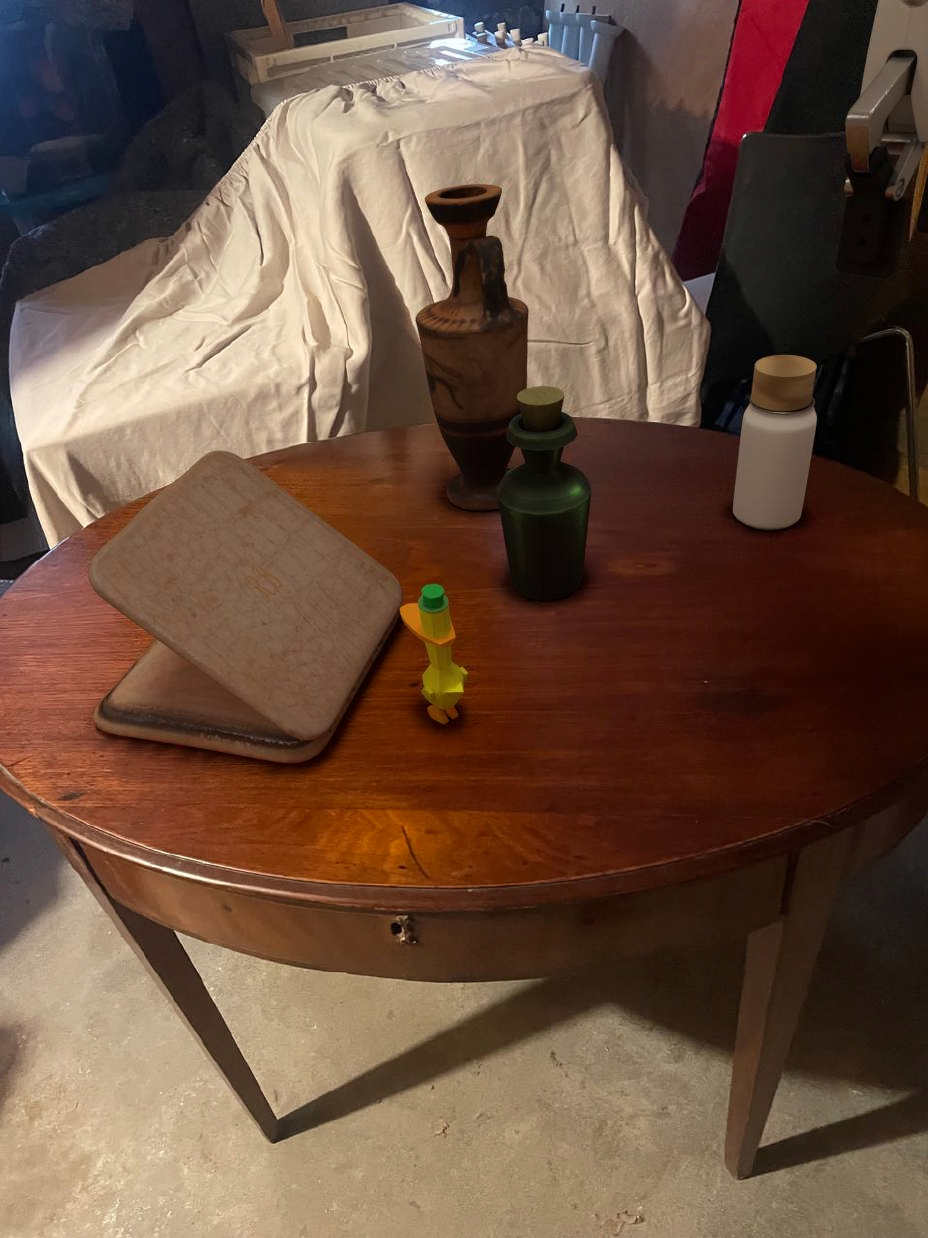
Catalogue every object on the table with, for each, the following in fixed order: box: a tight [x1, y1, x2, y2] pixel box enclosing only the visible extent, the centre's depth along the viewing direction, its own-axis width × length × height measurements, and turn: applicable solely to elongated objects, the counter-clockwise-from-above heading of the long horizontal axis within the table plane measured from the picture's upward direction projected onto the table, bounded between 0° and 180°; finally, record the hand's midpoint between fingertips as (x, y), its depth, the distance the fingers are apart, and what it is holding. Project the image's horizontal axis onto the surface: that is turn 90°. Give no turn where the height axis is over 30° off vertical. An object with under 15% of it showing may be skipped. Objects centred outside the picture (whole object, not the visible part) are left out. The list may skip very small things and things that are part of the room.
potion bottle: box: [497, 385, 592, 601], centre depth 75 cm, size 8×8×18 cm
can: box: [732, 396, 818, 531], centre depth 83 cm, size 6×6×12 cm
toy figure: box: [399, 583, 469, 725], centre depth 64 cm, size 7×4×12 cm, turn 37°
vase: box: [414, 183, 530, 512], centre depth 86 cm, size 11×11×30 cm
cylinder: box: [750, 354, 818, 411], centre depth 79 cm, size 5×5×3 cm
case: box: [87, 450, 403, 764], centre depth 69 cm, size 20×21×16 cm
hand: (905, 252), depth 51 cm, fingers open, 9 cm apart
